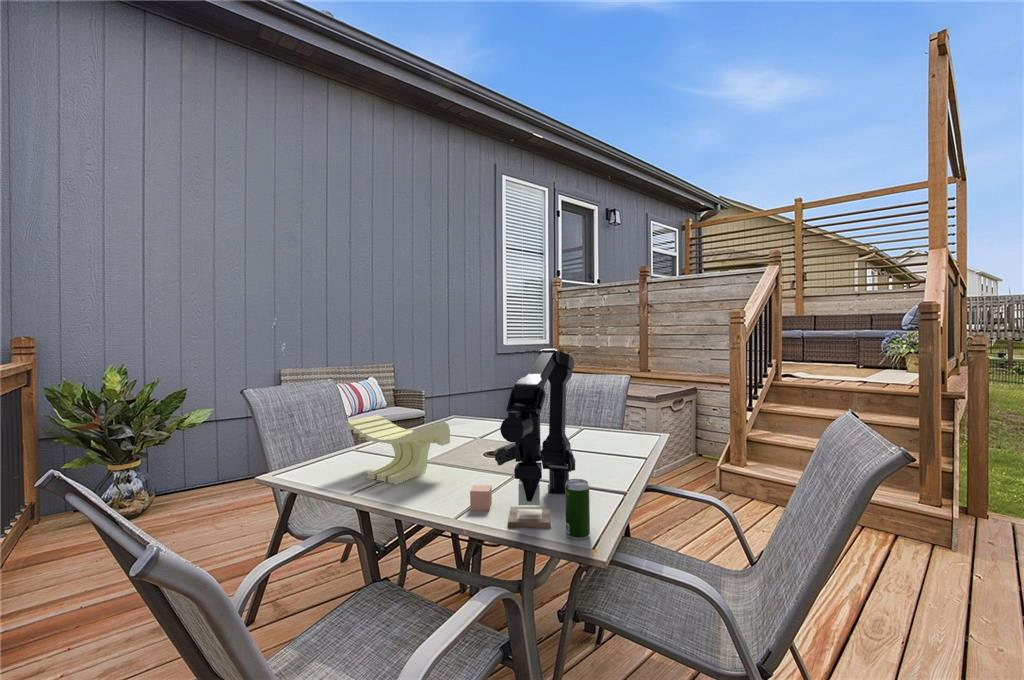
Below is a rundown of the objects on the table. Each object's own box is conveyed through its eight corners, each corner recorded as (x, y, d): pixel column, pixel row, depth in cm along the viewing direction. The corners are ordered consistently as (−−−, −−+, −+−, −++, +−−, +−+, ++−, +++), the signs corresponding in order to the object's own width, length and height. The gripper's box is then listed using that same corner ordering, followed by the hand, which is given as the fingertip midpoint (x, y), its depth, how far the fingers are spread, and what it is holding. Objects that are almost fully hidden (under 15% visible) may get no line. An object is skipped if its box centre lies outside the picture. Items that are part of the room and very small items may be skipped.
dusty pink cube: (473, 503, 124) (473, 485, 124) (491, 503, 123) (491, 485, 123) (470, 510, 119) (470, 491, 119) (489, 510, 118) (489, 491, 118)
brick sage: (539, 498, 115) (539, 478, 114) (539, 505, 110) (539, 484, 110) (519, 497, 115) (519, 477, 115) (518, 505, 110) (518, 484, 110)
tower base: (510, 511, 117) (510, 506, 117) (549, 511, 117) (549, 506, 117) (507, 527, 107) (507, 521, 107) (550, 527, 107) (550, 522, 107)
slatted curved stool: (450, 474, 150) (449, 420, 150) (417, 488, 137) (416, 428, 137) (383, 463, 165) (383, 413, 165) (348, 474, 152) (347, 420, 151)
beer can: (573, 542, 99) (572, 487, 99) (561, 533, 104) (560, 480, 104) (594, 538, 101) (594, 483, 101) (581, 529, 106) (580, 477, 106)
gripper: (499, 426, 122) (500, 485, 122) (491, 442, 103) (492, 511, 103) (541, 426, 121) (542, 485, 121) (541, 442, 103) (542, 512, 103)
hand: (529, 497), depth 112 cm, fingers closed on brick sage, 5 cm apart
